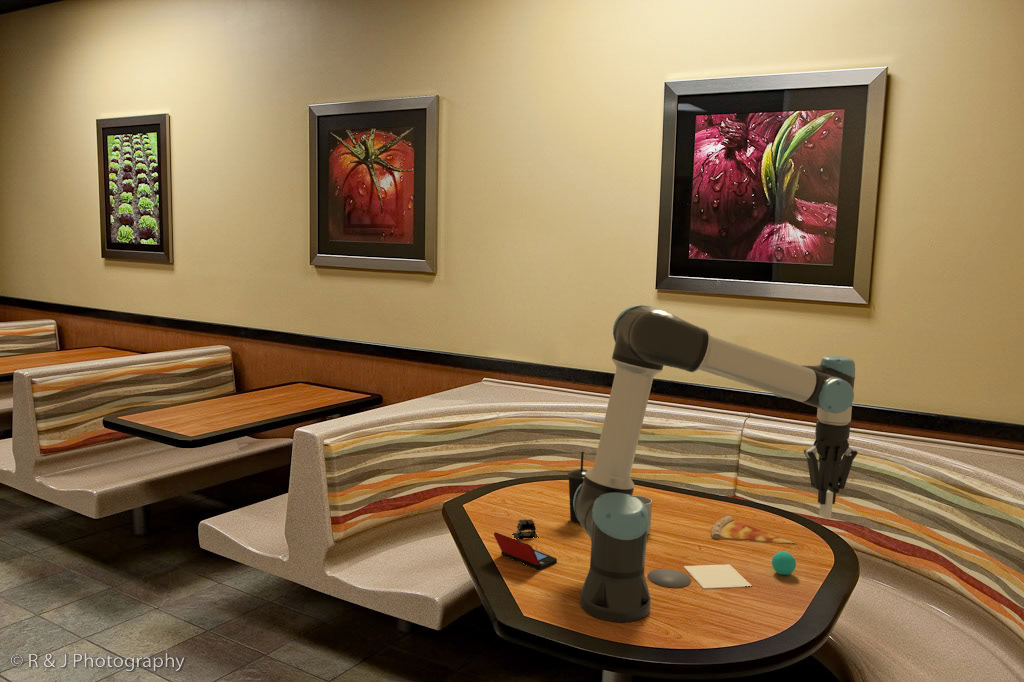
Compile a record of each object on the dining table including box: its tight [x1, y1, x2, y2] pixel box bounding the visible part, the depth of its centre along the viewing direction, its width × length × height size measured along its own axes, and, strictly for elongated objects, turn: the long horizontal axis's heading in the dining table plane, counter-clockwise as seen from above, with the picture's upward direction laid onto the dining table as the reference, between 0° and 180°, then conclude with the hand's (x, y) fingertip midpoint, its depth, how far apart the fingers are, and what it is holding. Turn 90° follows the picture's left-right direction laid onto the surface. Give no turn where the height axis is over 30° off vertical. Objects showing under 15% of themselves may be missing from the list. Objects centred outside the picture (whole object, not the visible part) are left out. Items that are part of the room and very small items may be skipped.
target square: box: [683, 563, 753, 590], centre depth 185 cm, size 12×12×1 cm
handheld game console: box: [493, 531, 558, 571], centre depth 190 cm, size 12×11×7 cm
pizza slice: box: [710, 515, 796, 544], centre depth 211 cm, size 16×22×2 cm
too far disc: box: [647, 568, 692, 589], centre depth 183 cm, size 10×10×1 cm
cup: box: [632, 495, 653, 535], centre depth 210 cm, size 7×10×9 cm
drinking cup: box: [567, 451, 589, 525], centre depth 217 cm, size 8×8×20 cm
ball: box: [771, 550, 797, 576], centre depth 188 cm, size 6×6×6 cm
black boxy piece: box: [512, 518, 539, 539], centre depth 206 cm, size 12×7×5 cm, turn 103°
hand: (825, 516), depth 188 cm, fingers closed
